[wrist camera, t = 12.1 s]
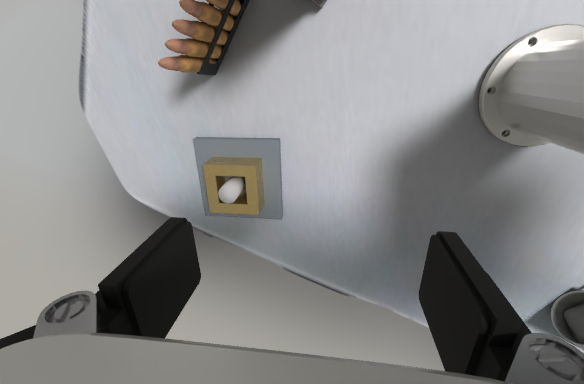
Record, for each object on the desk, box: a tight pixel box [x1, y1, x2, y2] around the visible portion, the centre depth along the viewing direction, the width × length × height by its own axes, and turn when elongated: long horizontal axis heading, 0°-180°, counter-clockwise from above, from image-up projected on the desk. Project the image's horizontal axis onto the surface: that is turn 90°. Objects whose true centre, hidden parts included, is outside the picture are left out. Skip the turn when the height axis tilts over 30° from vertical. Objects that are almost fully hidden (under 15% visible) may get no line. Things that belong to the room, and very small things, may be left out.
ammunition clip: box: [158, 0, 249, 75], centre depth 28 cm, size 11×2×12 cm, turn 148°
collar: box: [203, 157, 265, 215], centre depth 39 cm, size 7×7×4 cm
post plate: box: [193, 137, 283, 219], centre depth 39 cm, size 12×12×6 cm
